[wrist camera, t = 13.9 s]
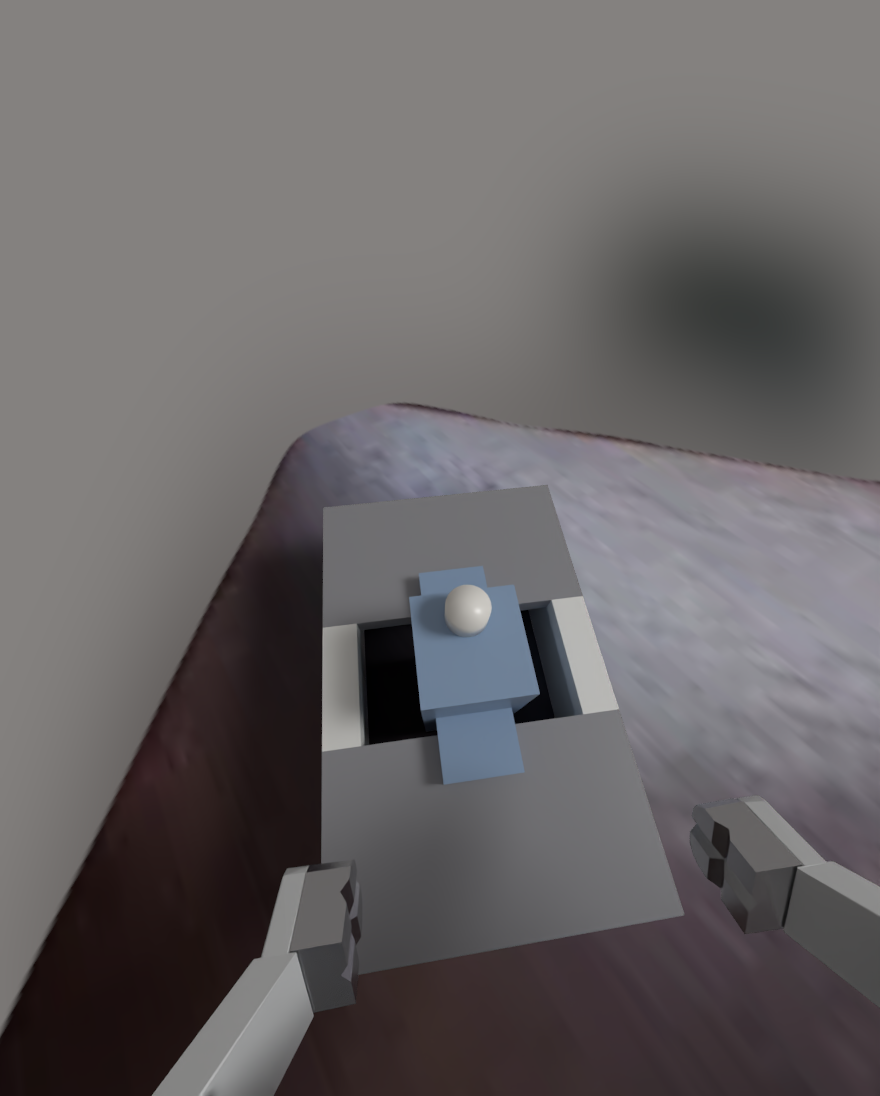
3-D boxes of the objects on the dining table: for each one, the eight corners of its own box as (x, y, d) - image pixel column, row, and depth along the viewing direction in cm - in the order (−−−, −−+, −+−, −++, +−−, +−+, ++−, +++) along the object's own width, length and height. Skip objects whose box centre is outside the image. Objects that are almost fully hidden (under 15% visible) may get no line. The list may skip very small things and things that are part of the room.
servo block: (482, 604, 24) (505, 520, 16) (514, 770, 20) (567, 769, 12) (413, 613, 23) (401, 531, 15) (431, 783, 19) (428, 791, 11)
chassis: (525, 539, 28) (547, 485, 22) (615, 875, 19) (684, 915, 14) (345, 560, 27) (323, 507, 21) (354, 920, 18) (320, 981, 13)
